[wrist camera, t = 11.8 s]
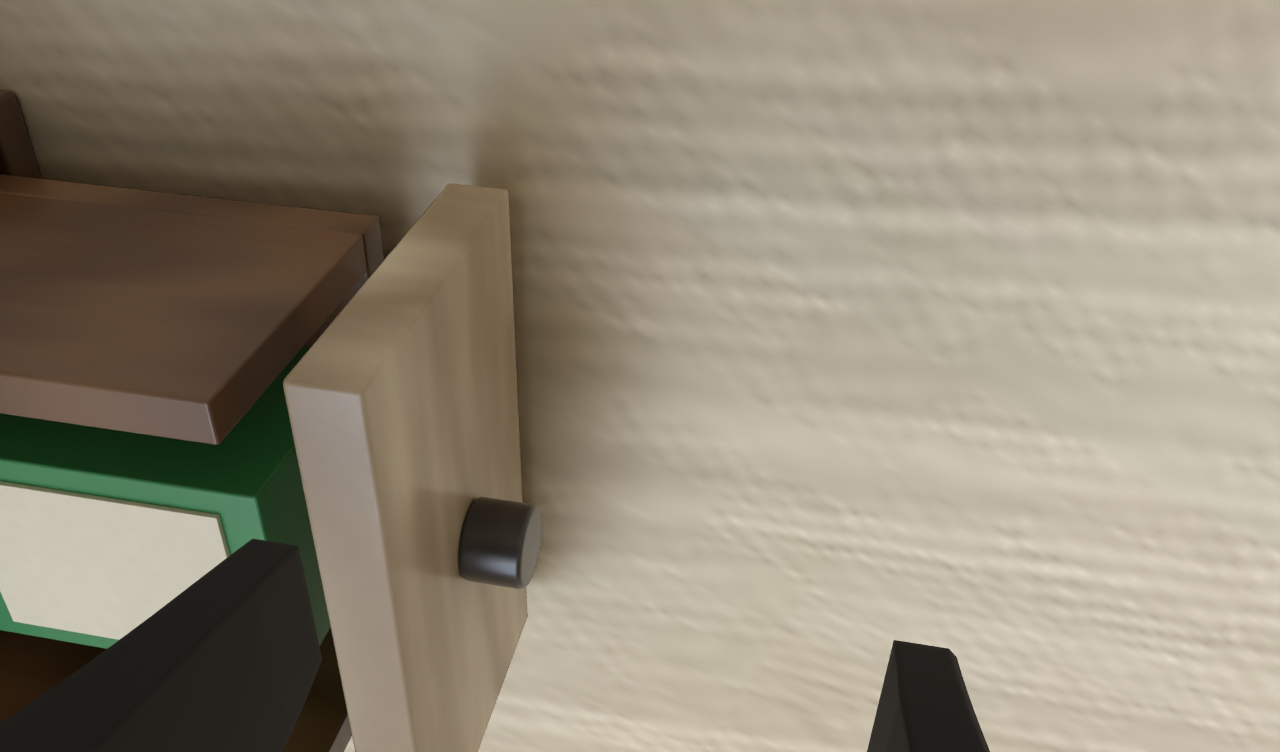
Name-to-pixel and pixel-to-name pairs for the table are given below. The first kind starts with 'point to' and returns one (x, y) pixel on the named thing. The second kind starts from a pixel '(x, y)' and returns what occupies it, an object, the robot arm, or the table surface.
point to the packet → (140, 518)
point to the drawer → (303, 418)
